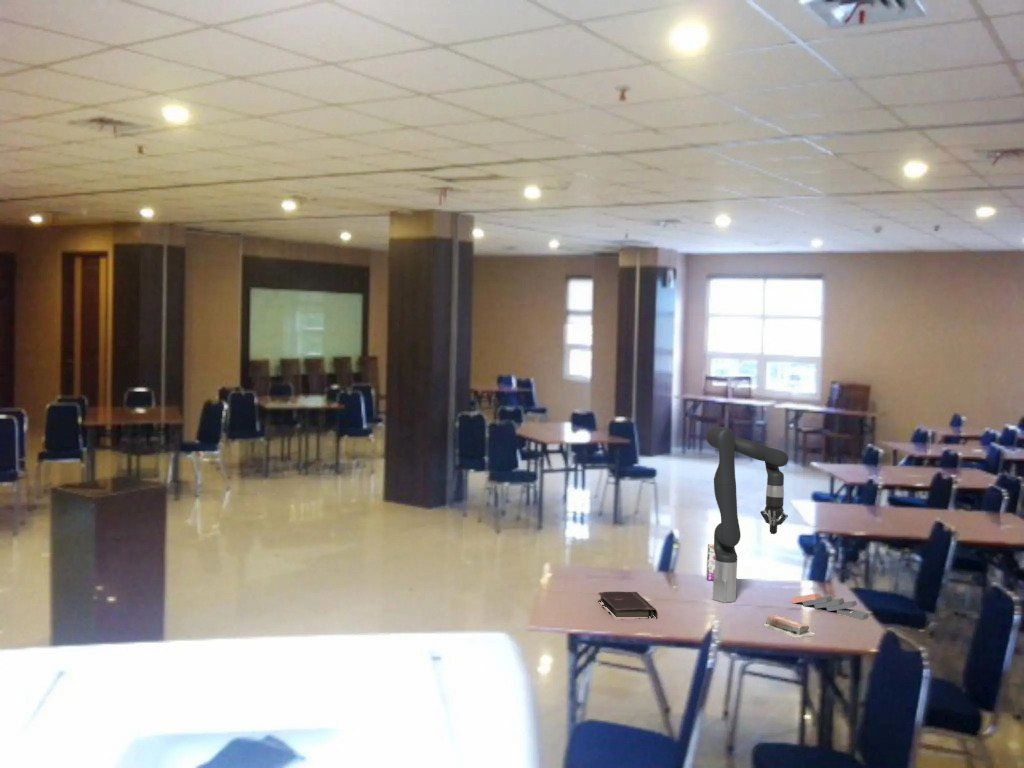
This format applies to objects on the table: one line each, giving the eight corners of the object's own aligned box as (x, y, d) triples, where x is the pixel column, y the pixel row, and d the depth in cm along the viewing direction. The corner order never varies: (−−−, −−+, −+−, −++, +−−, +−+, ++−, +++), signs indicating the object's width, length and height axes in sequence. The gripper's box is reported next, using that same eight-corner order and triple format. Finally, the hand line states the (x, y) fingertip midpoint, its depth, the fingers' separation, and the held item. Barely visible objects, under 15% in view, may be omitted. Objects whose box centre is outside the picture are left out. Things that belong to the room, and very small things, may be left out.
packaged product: (762, 615, 374) (779, 611, 380) (761, 627, 374) (778, 623, 380) (798, 628, 359) (816, 624, 365) (798, 640, 360) (815, 636, 365)
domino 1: (798, 601, 411) (821, 597, 404) (792, 603, 407) (815, 599, 400) (797, 596, 411) (819, 592, 404) (791, 599, 407) (814, 595, 400)
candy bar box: (707, 580, 440) (708, 546, 439) (706, 578, 445) (707, 543, 444) (731, 582, 439) (733, 547, 438) (730, 579, 444) (731, 544, 443)
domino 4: (831, 609, 400) (857, 604, 394) (827, 611, 396) (852, 607, 390) (830, 604, 401) (855, 600, 394) (826, 607, 396) (851, 602, 390)
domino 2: (809, 603, 407) (832, 599, 400) (803, 606, 403) (827, 602, 396) (807, 599, 407) (831, 595, 400) (802, 601, 404) (825, 597, 396)
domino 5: (841, 611, 397) (868, 617, 390) (836, 614, 393) (863, 620, 386) (842, 607, 397) (868, 612, 390) (836, 609, 393) (863, 615, 386)
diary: (637, 602, 406) (638, 590, 405) (657, 620, 381) (658, 608, 381) (595, 603, 402) (596, 591, 402) (612, 621, 378) (613, 609, 377)
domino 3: (820, 606, 404) (844, 602, 397) (815, 608, 400) (839, 604, 393) (819, 601, 404) (843, 597, 397) (814, 604, 400) (838, 600, 393)
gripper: (757, 493, 420) (755, 532, 422) (783, 498, 411) (782, 537, 412) (766, 491, 426) (764, 530, 427) (792, 496, 416) (791, 535, 417)
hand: (773, 533), depth 419 cm, fingers closed
